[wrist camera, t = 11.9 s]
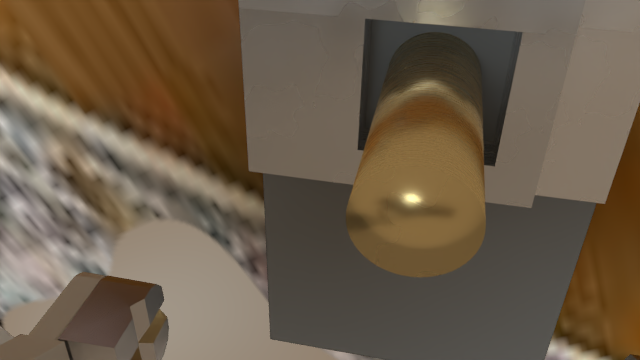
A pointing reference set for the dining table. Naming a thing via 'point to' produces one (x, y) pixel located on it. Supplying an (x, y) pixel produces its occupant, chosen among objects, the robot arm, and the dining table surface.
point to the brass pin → (423, 162)
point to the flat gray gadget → (517, 102)
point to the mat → (421, 292)
